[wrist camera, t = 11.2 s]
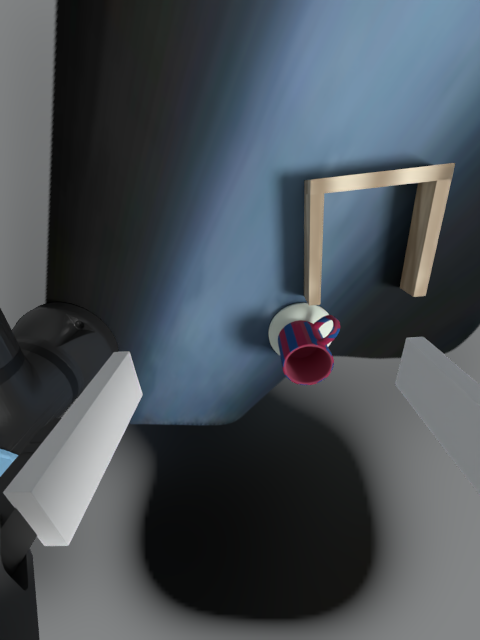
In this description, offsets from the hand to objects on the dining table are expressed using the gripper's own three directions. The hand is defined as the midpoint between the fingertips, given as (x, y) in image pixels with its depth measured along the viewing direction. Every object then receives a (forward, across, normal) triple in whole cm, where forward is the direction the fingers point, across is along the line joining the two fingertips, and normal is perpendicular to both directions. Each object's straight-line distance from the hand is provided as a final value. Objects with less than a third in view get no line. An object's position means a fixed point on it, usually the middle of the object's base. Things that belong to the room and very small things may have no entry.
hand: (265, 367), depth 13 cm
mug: (+25, +8, -13) cm, 29 cm away
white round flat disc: (+26, +7, -13) cm, 30 cm away
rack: (+26, +14, +1) cm, 29 cm away
